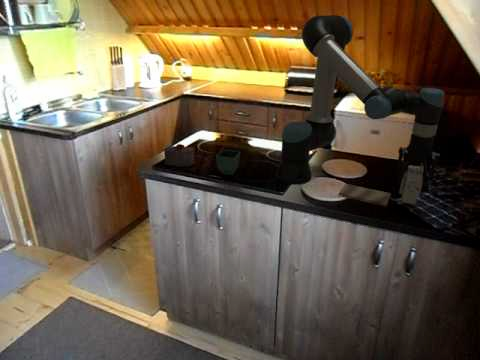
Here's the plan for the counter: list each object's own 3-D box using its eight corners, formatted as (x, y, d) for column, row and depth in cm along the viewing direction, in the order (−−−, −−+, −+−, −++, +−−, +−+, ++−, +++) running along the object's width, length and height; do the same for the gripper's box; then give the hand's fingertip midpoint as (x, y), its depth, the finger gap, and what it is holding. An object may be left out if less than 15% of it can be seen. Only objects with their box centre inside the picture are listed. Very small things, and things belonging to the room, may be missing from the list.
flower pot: (215, 175, 168) (215, 156, 164) (222, 168, 176) (221, 149, 172) (235, 177, 166) (235, 158, 162) (240, 170, 174) (240, 151, 170)
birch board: (338, 195, 151) (338, 192, 151) (345, 186, 159) (345, 183, 159) (386, 206, 143) (386, 203, 143) (390, 196, 151) (391, 193, 151)
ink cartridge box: (400, 192, 148) (408, 157, 142) (414, 194, 146) (423, 158, 140) (401, 202, 140) (409, 165, 134) (416, 204, 139) (425, 167, 133)
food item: (196, 162, 182) (195, 142, 178) (192, 168, 175) (191, 148, 171) (168, 160, 183) (167, 141, 179) (163, 167, 176) (161, 146, 172)
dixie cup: (395, 172, 173) (399, 149, 168) (404, 168, 177) (409, 146, 173) (411, 178, 167) (416, 154, 163) (421, 173, 172) (426, 150, 167)
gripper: (393, 132, 134) (381, 192, 144) (452, 142, 126) (435, 204, 136) (396, 127, 140) (385, 184, 150) (453, 136, 132) (437, 196, 142)
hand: (409, 194), depth 143 cm, fingers closed on ink cartridge box, 5 cm apart
